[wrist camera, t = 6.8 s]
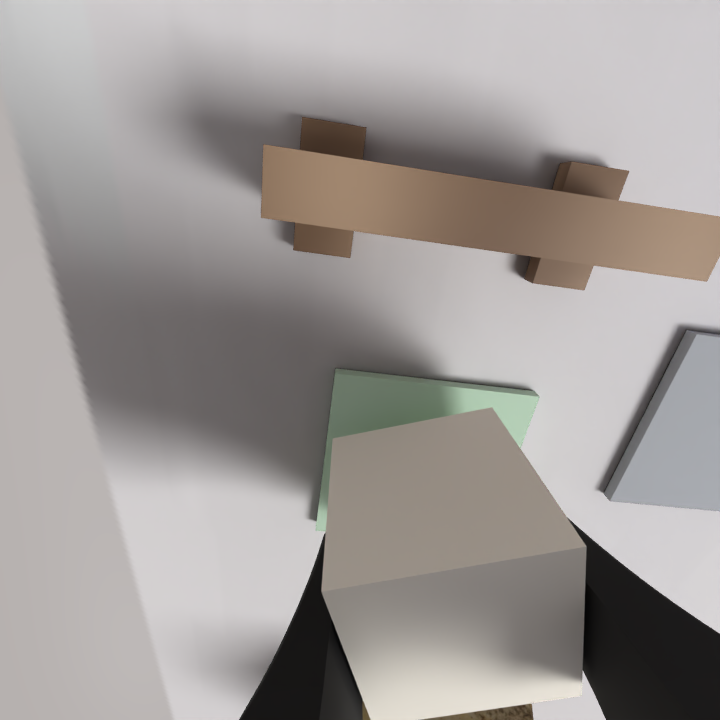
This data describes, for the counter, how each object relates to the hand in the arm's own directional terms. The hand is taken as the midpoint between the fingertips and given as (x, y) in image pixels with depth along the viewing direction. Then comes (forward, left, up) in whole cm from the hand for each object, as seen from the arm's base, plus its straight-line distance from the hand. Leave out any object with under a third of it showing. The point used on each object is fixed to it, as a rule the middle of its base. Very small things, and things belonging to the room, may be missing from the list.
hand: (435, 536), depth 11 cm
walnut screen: (+7, -6, -3) cm, 10 cm away
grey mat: (-6, -10, -3) cm, 12 cm away
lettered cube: (0, 0, -2) cm, 2 cm away
